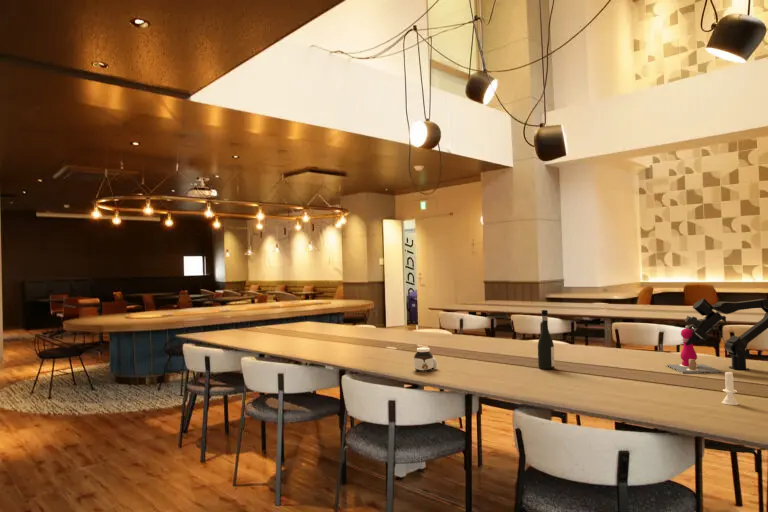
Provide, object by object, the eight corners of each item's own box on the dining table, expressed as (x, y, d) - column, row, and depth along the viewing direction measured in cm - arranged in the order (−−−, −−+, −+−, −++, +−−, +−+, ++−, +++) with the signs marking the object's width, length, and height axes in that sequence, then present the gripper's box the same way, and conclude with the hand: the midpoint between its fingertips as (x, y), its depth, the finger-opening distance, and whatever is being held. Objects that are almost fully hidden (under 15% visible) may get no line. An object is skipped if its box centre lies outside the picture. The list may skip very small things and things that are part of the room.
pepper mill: (700, 366, 262) (698, 325, 263) (685, 367, 262) (684, 326, 263) (692, 364, 269) (690, 324, 270) (677, 364, 270) (676, 324, 270)
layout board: (722, 373, 252) (721, 360, 252) (682, 373, 254) (682, 360, 254) (703, 366, 269) (702, 354, 269) (666, 366, 270) (666, 354, 271)
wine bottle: (552, 366, 278) (550, 309, 279) (556, 369, 270) (554, 310, 271) (537, 366, 279) (535, 309, 280) (540, 369, 271) (538, 310, 272)
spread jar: (413, 372, 275) (412, 349, 275) (416, 367, 286) (416, 346, 286) (436, 372, 272) (435, 349, 272) (439, 368, 283) (438, 346, 283)
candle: (732, 401, 203) (730, 369, 203) (742, 404, 197) (740, 372, 198) (718, 401, 202) (717, 370, 203) (728, 405, 197) (726, 372, 197)
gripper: (691, 308, 274) (668, 330, 277) (699, 312, 256) (674, 334, 260) (710, 324, 271) (686, 345, 274) (718, 328, 253) (693, 351, 257)
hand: (684, 343), depth 266 cm, fingers open, 6 cm apart
